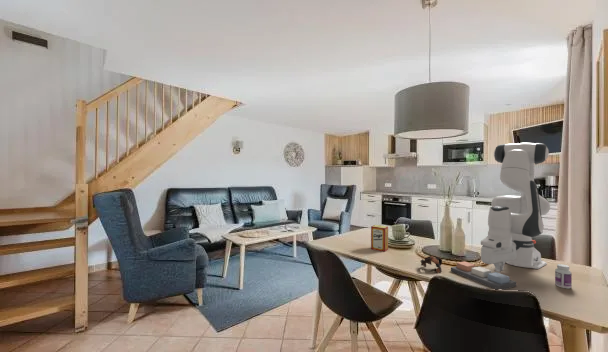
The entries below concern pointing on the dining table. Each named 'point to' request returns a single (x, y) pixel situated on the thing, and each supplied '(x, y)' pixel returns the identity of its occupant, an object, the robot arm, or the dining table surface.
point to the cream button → (481, 271)
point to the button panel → (483, 279)
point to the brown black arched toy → (435, 260)
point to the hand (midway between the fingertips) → (499, 270)
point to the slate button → (498, 278)
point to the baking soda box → (379, 238)
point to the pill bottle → (563, 276)
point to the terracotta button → (465, 266)
